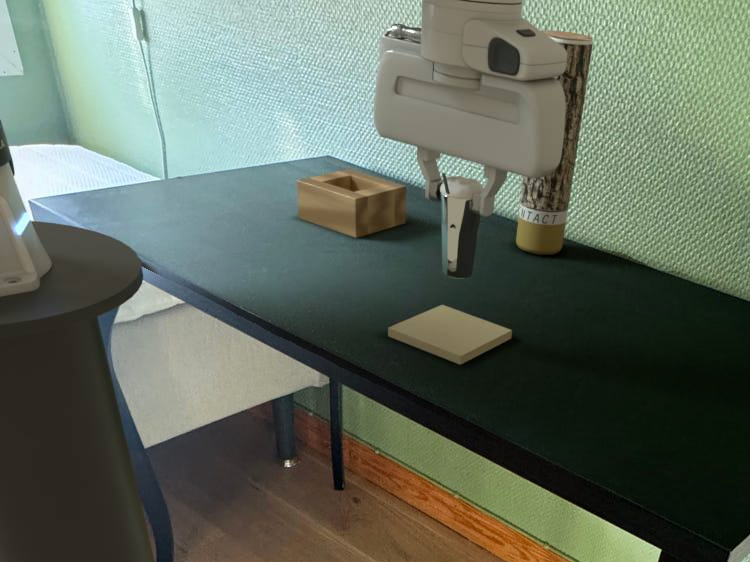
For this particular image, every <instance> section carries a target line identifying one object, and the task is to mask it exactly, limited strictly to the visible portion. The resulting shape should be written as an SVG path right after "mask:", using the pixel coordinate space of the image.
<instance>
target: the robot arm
mask: <svg viewBox="0 0 750 562" xmlns="http://www.w3.org/2000/svg"><path fill="white" fill-rule="evenodd" d="M523 5H524V0H421V21H420V23H421V25H420V27H416V26H415V27H413V26H408V25H407V26H406V25H405V24H402V23H393V24H392V25H391V26H390V27H389V28H387V29H386V30H385V31H384V32H383V34H382V36H381V37H380V38H379V39H380V40H379V44H378V45H379V47H378V48H379V49H378V56H379V57H378V60H379V61H378V66H377V73H376V80H375V89H374V98H373V99H374V100H373V123H374V127H375V129H376V131H377V134H378V135H379V136H380V137H381V138H384V139H389V140H392V141H396V142H398V143H403V144H406V145H410V146H413V147H416V161H417V164H418V166H419V168H420V171H421V175H422V177H423V180H424V181H425V185H424V187H425V188H424V189H425V190H424V198H425V199H426V200H429V201H432V202H436V203H440V187H441V185H442V183H443V182H444V181H443V178H442V175H441V173H440V169H439V166H438V162H437V160H439V159H440V158H441V155H446V156H450V157H453V158H457V159H460V160H464V161H467V162H470V163H471V162H472V163H475V164H478V165H482V166H483V174H482V175H483V179H486V180H487V181H486V182H485V185H484V186H483V188H484V189H483V190H482V192H480V193H476V194H473V201H472V202H473V206H472V212H473V213H474V214H478V215H481V217H485V218H486V217H489V216H492V215H493V213H494V208H495V200H496V195H497V194H498V193H499V191H500V190H501V188H502V186H503V185H504V183H505V182H506V180H507V179H508V173H511V174H515V175H517V176H522V177H523V176H525V177H529V178H533V179H536V178H541V177H544V176H547V175H550V174H551V173H552V172H553V171H554V170H555V169H556V168H557V166H558V165H559V163H560V159H561V154H562V147H563V139H564V127H565V107H566V106H565V95H564V91H563V88H562V86H561V84H560V83H559V81H558V80H557V79H555V78H554V77H556V76H560V75H562V74H563V73H564V71H565V69H566V64H567V52H566V50H565V48H564V47H563V46H561V45H560V44H559V43H557V42H556V41H554V40H553V39H551V38H550V37H549V36H547V35H546V34H544V33H543V32H541V31H542V30H540V29H538V27H536V26H535V25H533V24H532V23H531V22H530V21H528V20H527V19H526V18H524V17H523ZM8 142H9V141H8V138H7V135H6V132H5V129H4V126H3V123H2V120H1V119H0V297H2V296H7V295H13V294H18V293H24V292H29V291H34V290H36V289H38V288H39V286H40V278H41V277H42V276H43V275H45V274H46V273H47V272H48V271H49V270H50V268H51V266H52V261H51V259H50V257H49V256H48V254H47V252H46V251H45V249H44V247H43V245H42V243H41V242H40V240H39V238H38V236H37V233H36V231H35V229H34V227H33V225H32V223H31V221H32V220H31V217H30V213H29V212H28V210H27V208H26V206H25V203H24V201H23V198H22V196H21V193H20V190H19V188H18V185H17V181H16V178H15V174H16V173H15V165H14V160H13V157H12V154H11V149H10V146H9V143H8Z"/></svg>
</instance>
